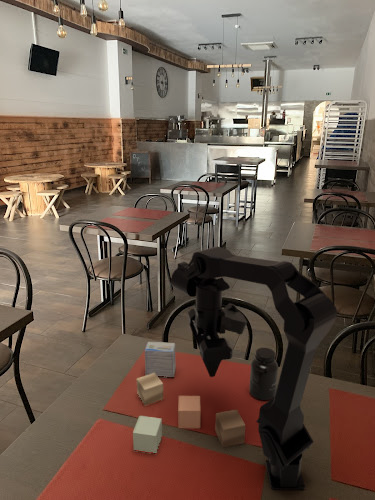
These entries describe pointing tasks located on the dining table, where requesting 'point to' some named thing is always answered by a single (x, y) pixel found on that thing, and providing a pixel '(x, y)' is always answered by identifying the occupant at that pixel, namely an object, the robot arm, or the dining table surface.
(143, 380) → the maple block
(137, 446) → the sage painted block
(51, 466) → the dining table surface
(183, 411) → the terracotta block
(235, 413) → the walnut block
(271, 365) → the supplement bottle
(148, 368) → the medicine box
